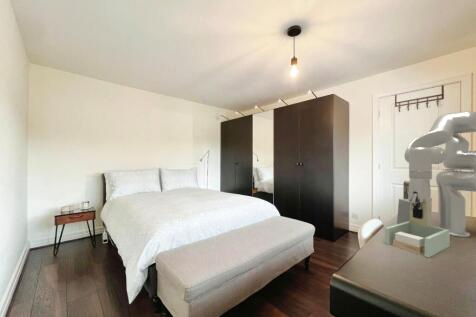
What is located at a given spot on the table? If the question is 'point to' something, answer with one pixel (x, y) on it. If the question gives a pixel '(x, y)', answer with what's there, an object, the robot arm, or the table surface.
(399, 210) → the skincare box
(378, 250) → the table surface
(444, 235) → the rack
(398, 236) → the offcut upper
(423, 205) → the skincare box
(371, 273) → the table surface
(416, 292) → the table surface
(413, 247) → the offcut lower
